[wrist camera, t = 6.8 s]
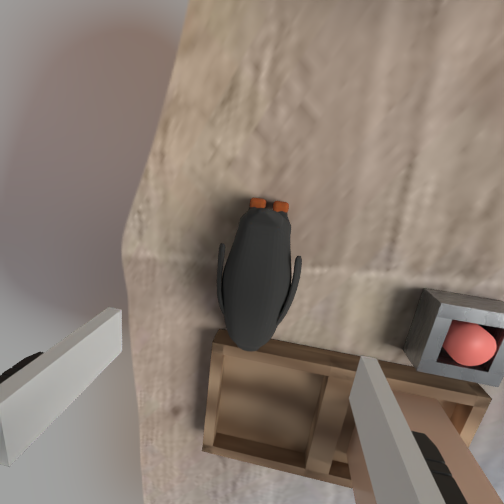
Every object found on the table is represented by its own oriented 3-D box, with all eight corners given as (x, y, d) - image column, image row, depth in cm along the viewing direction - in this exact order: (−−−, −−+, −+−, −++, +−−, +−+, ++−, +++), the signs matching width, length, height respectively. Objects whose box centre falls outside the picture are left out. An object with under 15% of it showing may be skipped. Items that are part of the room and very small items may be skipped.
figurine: (238, 198, 29) (218, 331, 30) (213, 184, 19) (187, 381, 21) (307, 208, 28) (283, 344, 30) (319, 199, 18) (282, 403, 20)
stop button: (439, 309, 26) (457, 326, 23) (479, 316, 25) (503, 334, 22) (427, 341, 27) (443, 361, 24) (466, 348, 26) (487, 369, 23)
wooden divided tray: (219, 328, 30) (212, 342, 28) (474, 378, 28) (491, 398, 25) (208, 431, 35) (202, 451, 32) (427, 483, 32) (438, 509, 30)
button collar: (423, 288, 26) (441, 303, 23) (502, 301, 25) (531, 318, 22) (402, 349, 28) (416, 370, 25) (475, 363, 27) (498, 387, 24)
